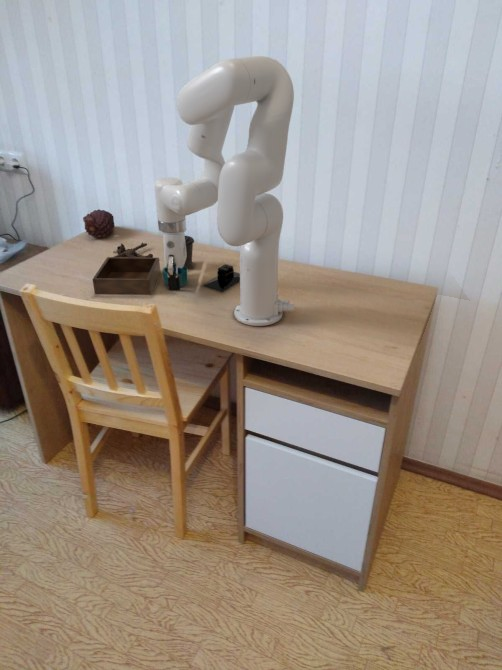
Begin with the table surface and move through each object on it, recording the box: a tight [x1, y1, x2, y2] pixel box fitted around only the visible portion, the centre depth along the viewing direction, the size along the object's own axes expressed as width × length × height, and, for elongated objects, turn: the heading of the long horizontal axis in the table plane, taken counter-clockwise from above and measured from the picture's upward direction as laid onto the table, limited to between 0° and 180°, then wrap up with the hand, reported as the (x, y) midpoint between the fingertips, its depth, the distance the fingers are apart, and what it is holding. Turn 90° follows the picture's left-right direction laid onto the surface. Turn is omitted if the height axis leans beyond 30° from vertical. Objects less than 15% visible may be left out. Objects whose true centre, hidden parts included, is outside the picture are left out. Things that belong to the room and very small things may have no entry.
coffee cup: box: [184, 235, 195, 270], centre depth 163 cm, size 8×8×10 cm
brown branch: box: [112, 242, 154, 258], centre depth 171 cm, size 18×4×14 cm
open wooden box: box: [92, 256, 161, 296], centre depth 154 cm, size 16×16×5 cm
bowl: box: [162, 265, 189, 288], centre depth 154 cm, size 7×7×5 cm
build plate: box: [203, 263, 240, 293], centre depth 156 cm, size 12×7×5 cm, turn 145°
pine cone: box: [82, 209, 116, 239], centre depth 188 cm, size 18×10×10 cm
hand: (176, 282), depth 154 cm, fingers open, 8 cm apart
